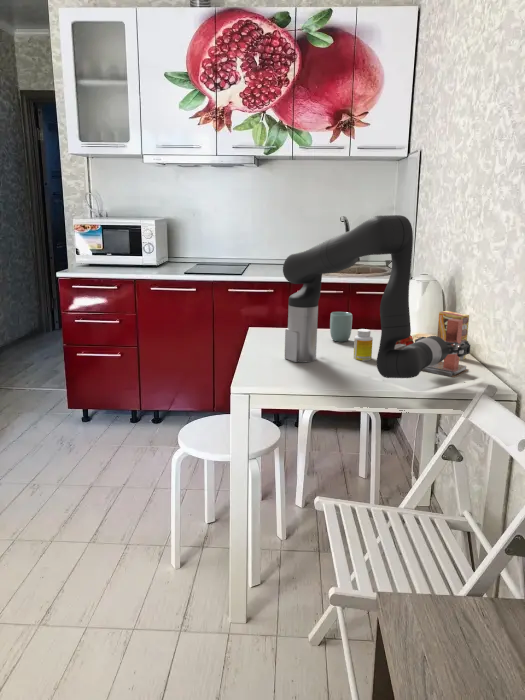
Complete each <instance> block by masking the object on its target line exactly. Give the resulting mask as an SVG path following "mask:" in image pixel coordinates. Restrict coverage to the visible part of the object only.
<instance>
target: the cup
mask: <svg viewBox="0 0 525 700" xmlns="http://www.w3.org/2000/svg"><path fill="white" fill-rule="evenodd" d="M352 326H353V314H352V313H351V312H347V311H332V312H331V313H330V319H329V329H330V330H329V331H330V332H329V333H330V337H331V339H332V340H333V341H334V342H337V343H338V342H339V343H344V342H348V341H349V340H350V338H351V334H352V329H353V328H352Z"/></svg>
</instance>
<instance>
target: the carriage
mask: <svg viewBox="0 0 525 700" xmlns="http://www.w3.org/2000/svg"><path fill="white" fill-rule="evenodd" d="M462 325H463V320H460V319H453V318H452V319H449V320H448V321H447V332H446V341H455V342H458V343H461V335H462ZM451 345H452V346H453V344H451ZM459 346H460V345H459ZM459 362H460V360H459V357H458V356H457V354H449V355H447V356H446V358H445V359H444V360H443V362H439V363H437V364H435V365H432V366H430V367H426V368H431V369H436V370H441V371H446V372H451V373H453V374H452V375H456V374H458V373H460V372H462V371H464V370H466V369H467V365H464V366H461V365H462V364H459Z"/></svg>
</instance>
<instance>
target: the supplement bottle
mask: <svg viewBox="0 0 525 700" xmlns="http://www.w3.org/2000/svg"><path fill="white" fill-rule="evenodd" d="M353 340H354V343H353V359H354V360H355V361H361V362H362V361H363V362H364V361H365V362H367V361H371V360H372V354H373V340H374V339H373V336H371V330H370V329H367V328H366V329H365V328H359V329H357V333H356V335H355V336H354V339H353Z"/></svg>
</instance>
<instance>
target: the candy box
mask: <svg viewBox="0 0 525 700" xmlns="http://www.w3.org/2000/svg"><path fill="white" fill-rule="evenodd" d="M452 318H453V319H460V320H463V325H462V335H461V342H464V341H468V332H469V322H470V314H466V313H465V314H464V313H460V312H455V311H450V310H445V311H439V312H438V323H437V335H436V336H439V337H440V338H442V339H443V340H444V341H446V332H447V321H448V320H449V319H452ZM465 359H466V355H464V356H462V357H459V361H462V360H465Z"/></svg>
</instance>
